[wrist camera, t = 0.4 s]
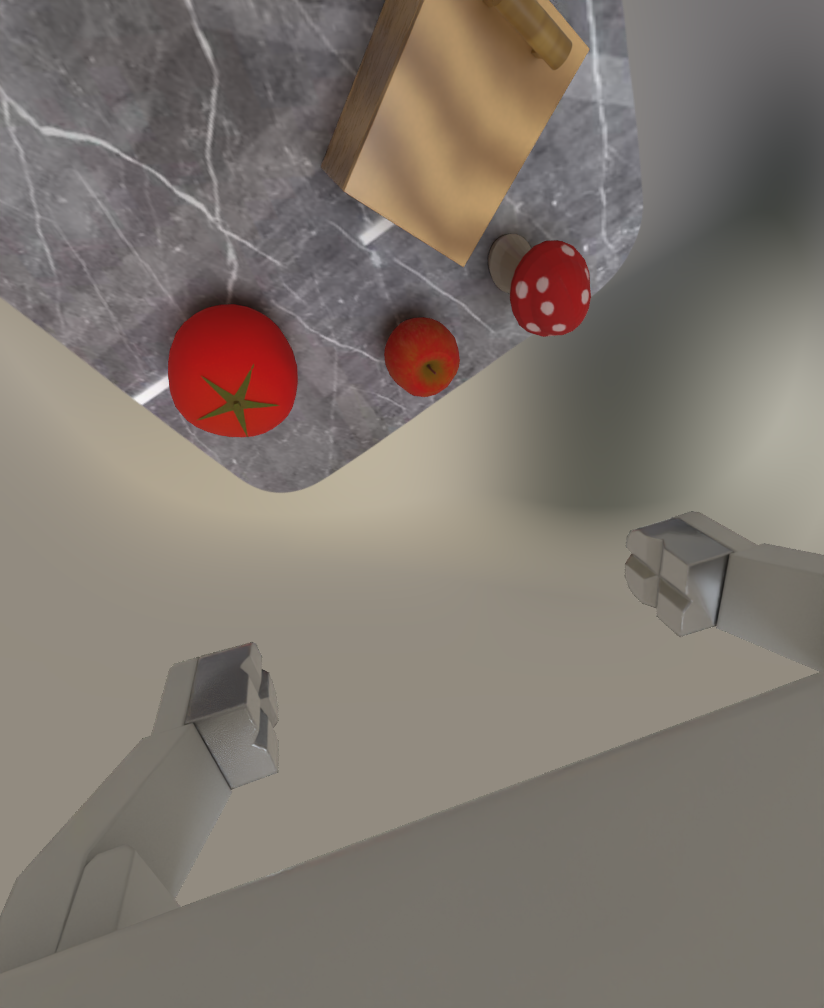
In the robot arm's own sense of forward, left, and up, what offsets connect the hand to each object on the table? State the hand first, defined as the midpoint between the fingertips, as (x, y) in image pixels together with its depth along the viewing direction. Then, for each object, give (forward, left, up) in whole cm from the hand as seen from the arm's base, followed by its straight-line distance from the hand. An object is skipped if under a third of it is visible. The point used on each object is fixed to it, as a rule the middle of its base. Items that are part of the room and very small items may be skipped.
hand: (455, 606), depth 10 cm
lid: (-12, +11, -40) cm, 43 cm away
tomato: (+18, +3, -50) cm, 53 cm away
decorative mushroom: (-5, +28, -50) cm, 58 cm away
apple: (+7, +21, -50) cm, 55 cm away
